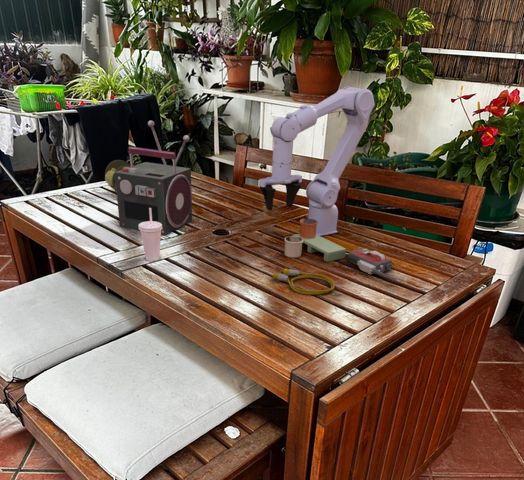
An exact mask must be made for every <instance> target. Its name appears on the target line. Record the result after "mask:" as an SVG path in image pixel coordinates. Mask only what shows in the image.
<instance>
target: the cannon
mask: <svg viewBox="0 0 524 480" xmlns="http://www.w3.org/2000/svg"><path fill="white" fill-rule="evenodd" d="M124 167H131V164H130V163H128V162H127V161H125V160H122V159H115V160H112V161H110V162H109V163H108V165H107V166H106V168H105V171H104V181H106V183H107V185H108V186H109V187H110V188H111V189H113V190H114V191H115V192H116V183H115V174H114V172H116V171H119V170H122V168H124Z"/></svg>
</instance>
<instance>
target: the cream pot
mask: <svg viewBox="0 0 524 480" xmlns="http://www.w3.org/2000/svg"><path fill="white" fill-rule="evenodd" d="M283 241H284V251H283V254H284V256H286V257H288V258H300V257H301V256H302V250H303V244H304V243H303V239H302V238H300V237H296V236H293V235H290V236H289V235H288V236H286V237H284V239H283ZM302 243H303V244H302Z"/></svg>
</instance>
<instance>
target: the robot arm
mask: <svg viewBox="0 0 524 480" xmlns="http://www.w3.org/2000/svg"><path fill="white" fill-rule="evenodd" d="M375 105H376V104H375V97H374V94H373V92H372V91H371V90H370V89H367V88H358V87H353V86H351V85H347V86H345V87H343V88H340V89H337V91H336V92H335V93H334V94H331V95H330V96H329V97H327V98H325V99H323V100H321V101H320V102H318V103H316V104H315V105H313V106H311V105H310V104H302V105H300V106H299V109H297V110H295V111H293V112H288V113H286V115H285V117H284V116H279V117H277V118H275V119H274V121H273V122H272V124H271V126H270V127H269V131H270V134H271V136H272V137H273V139H272V140H273V141H272V142H273V143H272V144H273V145H272V148H273V149H272V161H271V162H272V164H271V166H272V167H271V176H267V177H265V178H259V180H258V181H259V182H258V186H259V190H260V191H261V193H262V195H263V198H264V199H263V200H264V202H265V208H266V210H268V211H273V207H274V198H275V194H276V191H277V188H274V187H273V186H279V185H285V190H286V192H285V193H286V198H285V200H286V201H285V204H286V207H288V208H292V207H293V205H294V202H295V199H296V197H297V194H298V193H299V191H300V189H301V188H302V182H303V176H302V175H301V174H292V166H293V152H294V151H293V150H294V141H295V139H297V137H298V135H299V134H300V133H303V132H304V131H306V130H308V129H310V128H311V127H314V126H315V125H316V124H317V122H318V119H320V118H321V117H324V116H326V115H328V114H330V113H332V112H335V111H337V110H339V109H341V110H342V112H343V114H344V115H345V118H346V121H347V125H346V127H345V130H344V131H343V132H342V135H341V137H340V139H339V141H338V142H337V144H336V146H335V148H334V150H333V152H332V154H331V155H330V158H329V160H328V161H327V163H326V164H325V166H324V169H323V170H322V171H321V172H320V173H317V174H316V175H315V176H314V178H313V180H312V181H310V182H309V183H308V184H307V187H306V189H305V195H306V198H307V199H308V211H307V212H308V213H307V219H314V220H317V221H318V224H317V228H316V235H318V236H321V237H322V236H327V235H332V234H333V235H334V234H337V233H339V231H338V230H337V228H338V227H337V226H338V219H339V210H338V207H337V206H336V204H335V203H336V202H337V201H338V200H337V199H338V196H339V192H340V190H341V185H340V181H339V180H340V178H341V176H342V174H343V172H344V171H345V168H346V167H347V165H348V163H349V161H350V159H351V157H352V156H353V154H354V152H355V151H356V148H357V146H358V144H359V142H360V141H361V139H362V137H363V135H364V134H365V131H366V130H367V127H368V125H369V121H370V117H371V113H372V111H373V109H374V107H375Z"/></svg>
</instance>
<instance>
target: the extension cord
mask: <svg viewBox="0 0 524 480" xmlns="http://www.w3.org/2000/svg"><path fill="white" fill-rule="evenodd" d="M295 276H296V277H295ZM289 277H293V278H291V279H289ZM308 278H311V279H318V280H321V281H325V282H327V283H329V285H330V288H328V289H323V290H313V289H311V290H310V289H304V288H299V287H297V286H296V285H295V284H294V282H295V281H298V280H301V279H308ZM272 279H274V280H277V281H280V282H287V283H288V285H289V287H290V288H291V290H293V291H294V292H296V293H299V294H302V295H309V296H311V295H313V296H314V295H315V296H317V295H323V294H328V293H330V292H331V291H333V290H334V289H335V286H336V285H335V281H334V280H333V279H332V278H331V277H328V276H326V275H323V274H320V273H319V274H318V273H313V272H312V273H310V272H300V270H296V269H292V268H291V269H290V268H286V267H285V268H283V272H282V273H280V272H279V273H278V272H273V274H272Z"/></svg>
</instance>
